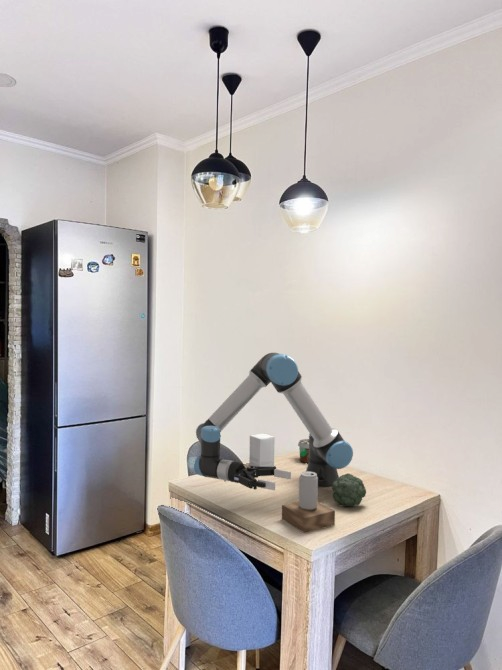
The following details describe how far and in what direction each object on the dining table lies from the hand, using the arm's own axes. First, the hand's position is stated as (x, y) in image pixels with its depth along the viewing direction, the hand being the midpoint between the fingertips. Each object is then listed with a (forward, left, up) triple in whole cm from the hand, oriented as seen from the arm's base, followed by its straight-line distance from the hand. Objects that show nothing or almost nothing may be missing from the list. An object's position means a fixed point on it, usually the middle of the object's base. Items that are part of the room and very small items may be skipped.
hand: (283, 480), depth 171 cm
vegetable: (-29, +2, -13) cm, 32 cm away
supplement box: (-26, -53, -13) cm, 61 cm away
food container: (-50, -51, -13) cm, 73 cm away
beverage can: (-5, +9, -8) cm, 13 cm away
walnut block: (-5, +9, -13) cm, 16 cm away
